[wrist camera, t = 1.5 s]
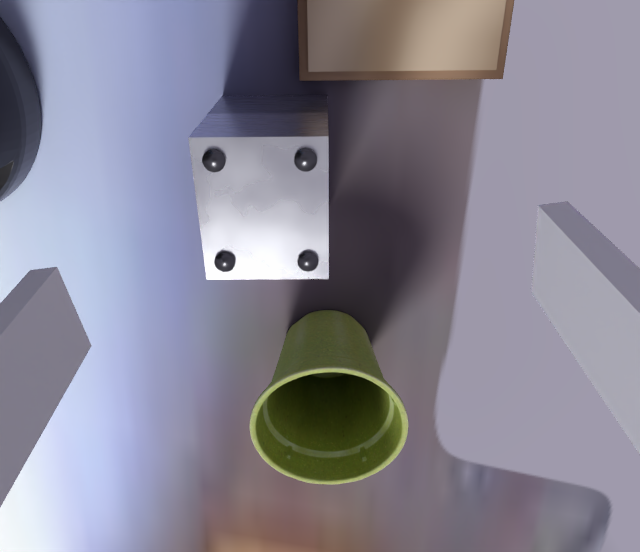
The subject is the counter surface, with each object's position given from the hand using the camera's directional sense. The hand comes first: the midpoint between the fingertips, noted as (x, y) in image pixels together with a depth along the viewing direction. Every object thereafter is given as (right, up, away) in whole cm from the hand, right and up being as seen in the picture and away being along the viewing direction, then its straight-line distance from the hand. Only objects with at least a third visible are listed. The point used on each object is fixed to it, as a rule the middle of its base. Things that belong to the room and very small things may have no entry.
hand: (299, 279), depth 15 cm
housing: (-2, +7, +18) cm, 19 cm away
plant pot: (+1, -5, +25) cm, 25 cm away
